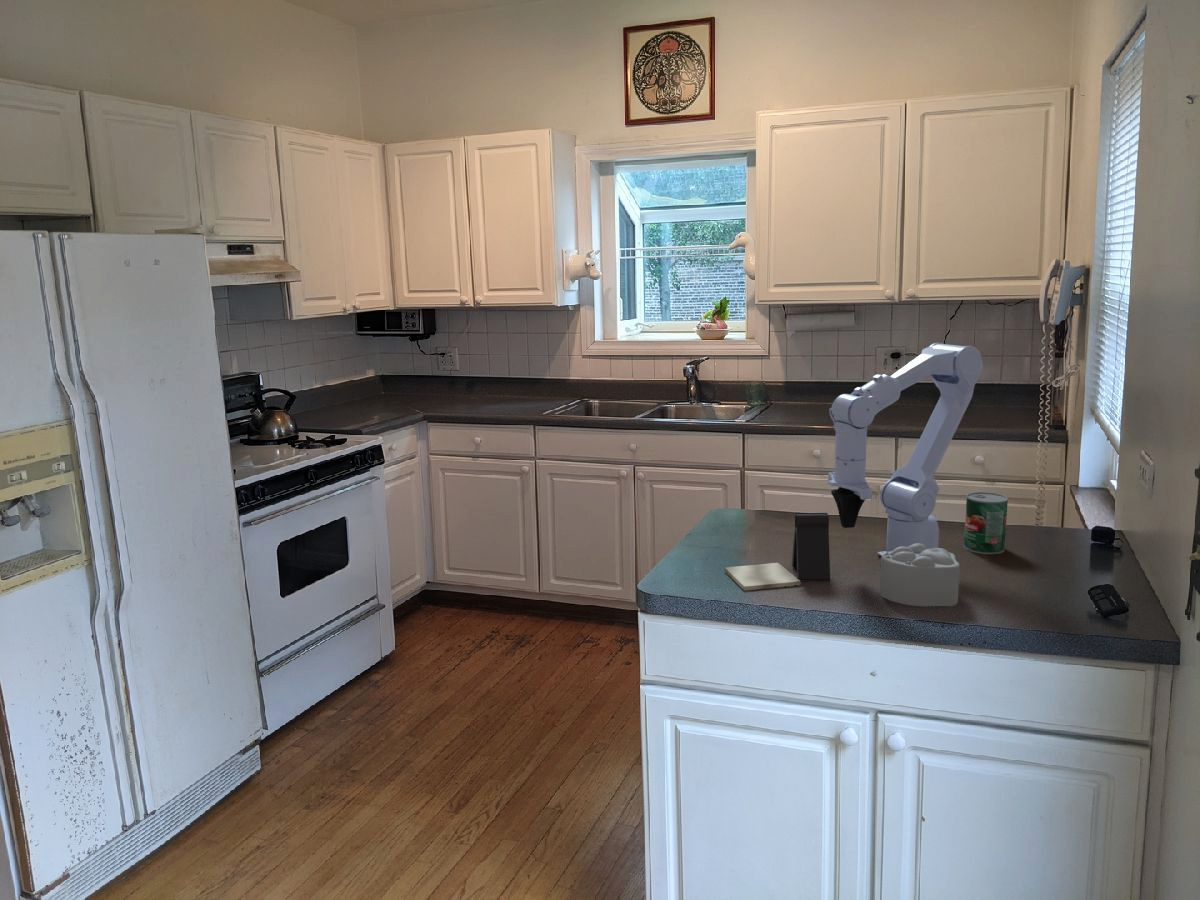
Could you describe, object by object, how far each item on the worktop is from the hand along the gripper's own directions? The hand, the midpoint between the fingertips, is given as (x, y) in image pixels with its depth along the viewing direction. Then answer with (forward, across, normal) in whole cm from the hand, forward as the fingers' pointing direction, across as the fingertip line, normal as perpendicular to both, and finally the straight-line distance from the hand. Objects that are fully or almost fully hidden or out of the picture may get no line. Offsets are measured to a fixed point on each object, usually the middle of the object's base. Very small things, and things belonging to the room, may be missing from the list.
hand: (848, 526), depth 180 cm
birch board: (+9, 0, -18) cm, 20 cm away
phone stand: (+9, 0, -7) cm, 12 cm away
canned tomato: (+9, -5, +33) cm, 35 cm away
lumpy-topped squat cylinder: (+9, +16, +6) cm, 19 cm away
